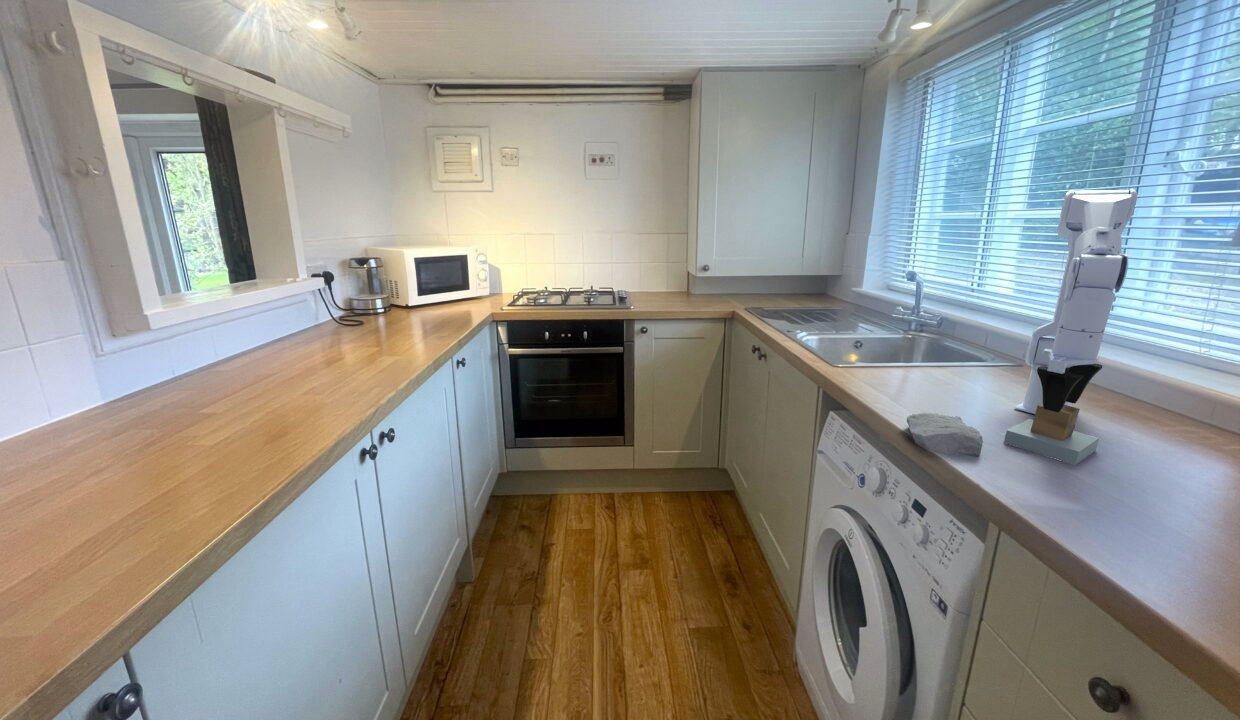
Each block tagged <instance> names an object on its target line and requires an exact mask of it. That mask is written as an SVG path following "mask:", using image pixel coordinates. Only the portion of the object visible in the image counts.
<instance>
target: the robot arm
mask: <svg viewBox="0 0 1240 720" xmlns="http://www.w3.org/2000/svg"><path fill="white" fill-rule="evenodd" d="M1137 200H1138V193H1137V191H1136V190H1135V189H1134V188H1129V189H1116V190H1114V189H1113V190H1112V189H1111V190H1105V189H1104V190H1074V189H1071V190H1069V191H1068V192H1066V193H1065V196H1064V199H1063V201H1062V207H1061V209H1060V210H1061V211H1060V215H1059V221H1058V227H1057V231H1058V233H1057V236H1058V237H1061V238H1063V239H1064V240H1066V241H1067V247H1068V248H1067V249H1068V254H1067V259H1066V262H1065V266H1064V267H1065V268H1064V271H1063V275H1062V280H1061V285H1060V289H1059V291H1058V292H1059V294H1058V298H1057V301H1056V306H1055V311H1054V314H1053V318H1052V321H1050V322H1047V323H1045V324H1043V325H1040V326H1039V327H1036V328H1035V330H1034V331H1033V332H1032V334H1031V337H1030V340H1029V342H1028V343H1029V344H1028V347H1027V350H1026V351H1027V352H1026V357H1025V363H1026V364H1027V366H1029V367H1030V366H1031V370H1030V375H1029V379H1028V382H1027V387H1026V390H1025V393H1024V394H1025V395H1024V399H1023V402H1022V403H1020V404H1017V405H1015V406H1014V409H1015V410H1016V411H1017V410H1018V411H1021V412H1026V413H1030V414H1033V415H1035V412H1036V409H1037V405H1039V404H1041V403H1043V408H1044V409H1046V410H1050V411H1054V412H1060V411H1061V409H1062V408H1063V406H1064V405H1067V406H1071V407H1074V406H1073V405H1075V404H1076V403H1077V402H1078V401H1079V399H1080V398H1081V397H1082V394H1083V392H1084V390H1085V389H1086V387H1087V386H1088V384H1089V383H1090V382H1091V380H1092V379H1093V378H1094V377H1095V375H1097V374H1098V373H1099V371H1101V370H1102V369H1103V365H1102V364H1101V363H1100V364H1099V363H1098V362H1099V357H1098V355H1099V353H1100V352H1099V351H1100V349H1101V345H1102V341H1103V338H1104V335H1105V331H1106V328H1107V324H1108V320H1109V316H1110V314H1111V310H1112V306H1113V303H1114V299H1115V297H1116V293H1119V292H1120V291H1121V289H1122V288H1123V287H1122V286H1123V285H1124V283H1125V281H1126V277H1127V274H1128V270H1129V256H1128V254H1126V253H1122V235H1121V233H1123V232H1124V230H1125V229H1126V227H1127V225H1128V223H1129V222H1130V220H1131V219H1132V216H1133V213H1134V211H1135V207H1136V205H1137V203H1136V202H1137ZM1114 290H1115V292H1116V293H1115V292H1113V291H1114Z"/></svg>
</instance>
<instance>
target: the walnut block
mask: <svg viewBox="0 0 1240 720" xmlns="http://www.w3.org/2000/svg"><path fill="white" fill-rule="evenodd" d="M1080 409H1081V408H1079V407H1075V406H1072V407H1071V406H1067V405H1064V406H1063V408H1062V409H1061V411H1060V412H1054V411H1050V410H1046V409H1044V408H1043V403H1041V404H1039V405H1037V409H1036V412H1035V414H1034V417H1033V419H1032V420H1033V424H1032V427H1031V431H1030V432H1033V433H1036V434H1040V435H1043V436H1046V437H1050V438H1053V439H1056V440H1060V441H1064V440H1065V439H1067V438H1068V437H1070V436H1072V433H1073V431H1075V426H1076V423H1077V419H1078V418H1079V417H1078V416H1079V413H1080Z"/></svg>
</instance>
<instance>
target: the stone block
mask: <svg viewBox="0 0 1240 720" xmlns="http://www.w3.org/2000/svg"><path fill="white" fill-rule="evenodd" d="M906 423H907V424H908V428H909V431H910V433H911V435H912V438H913V441H914V443H915V444H916V445H918V446H919V447H921V448H922V449H924V450H926V451H928V452H931V453H938V454H944V455H962V456H976V457H977V456H978V457H979V456H980V455H981V453H982V448H983V443H984V441H983V435H982V434H981V433H980V431H979V430H978V429H977V428H975V427H973V426H968V425H966V424H965V422H963V420H962V418H961V417H960V416H958V415H956V416H950V415H945V414H939V413H936V412H935V413H934V412H933V413H932V412H920V413H916V414H915V413H913V414H912V415H911V414H910V415H908V416H907V417H906Z"/></svg>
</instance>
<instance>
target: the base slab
mask: <svg viewBox="0 0 1240 720" xmlns="http://www.w3.org/2000/svg"><path fill="white" fill-rule="evenodd" d="M1033 420H1034V419H1032V418H1028V419H1026V420H1023V421H1022V422H1020V423H1018V424H1016V425H1013V426H1012V427H1009V428H1008V429H1006V431H1005V435H1004V440H1003V443H1004V444H1006V443H1007V444H1006V445H1009V444H1011V445H1010V446H1012V445H1014V446H1013V447H1016V446H1017V448H1019V447H1020V448H1019V449H1022V448H1023V449H1022V450H1025V449H1026V450H1025V451H1028V450H1029V451H1028V452H1031V451H1032V453H1035V454H1039V455H1041V454H1042V455H1041V456H1044V455H1045V456H1044V457H1047V456H1048V457H1047V458H1050V457H1052V458H1051V459H1053V458H1056V459H1055V460H1057V459H1058V461H1060V460H1061V462H1063V461H1064V463H1066V462H1067V463H1066V464H1069V463H1070V464H1069V465H1073V466H1076V465H1078V464H1079V463H1080V462H1082V461H1083V460H1085V459H1086V458H1087V457H1089V456H1090V455H1092V454H1093V453H1095V452H1096V450H1097V446H1098V444H1099V441H1100V437H1098V436H1094V435H1090V434H1086V433H1082V432H1079V431H1075V430H1073V433H1072V436H1070V437H1068V438H1067V439H1065V440H1064V441H1060V440H1056V439H1053V438H1050V437H1046V436H1043V435H1040V434H1036V433H1033V432H1030V431H1031V427H1032V424H1033Z"/></svg>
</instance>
